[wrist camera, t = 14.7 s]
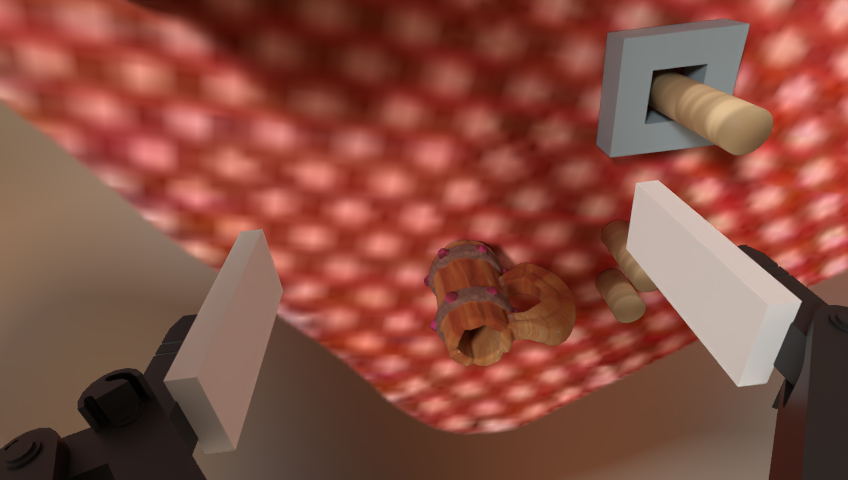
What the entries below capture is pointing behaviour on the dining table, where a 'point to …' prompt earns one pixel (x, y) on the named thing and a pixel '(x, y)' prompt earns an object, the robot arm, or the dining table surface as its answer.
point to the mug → (494, 303)
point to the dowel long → (710, 112)
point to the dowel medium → (625, 255)
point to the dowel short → (620, 296)
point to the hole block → (632, 73)
